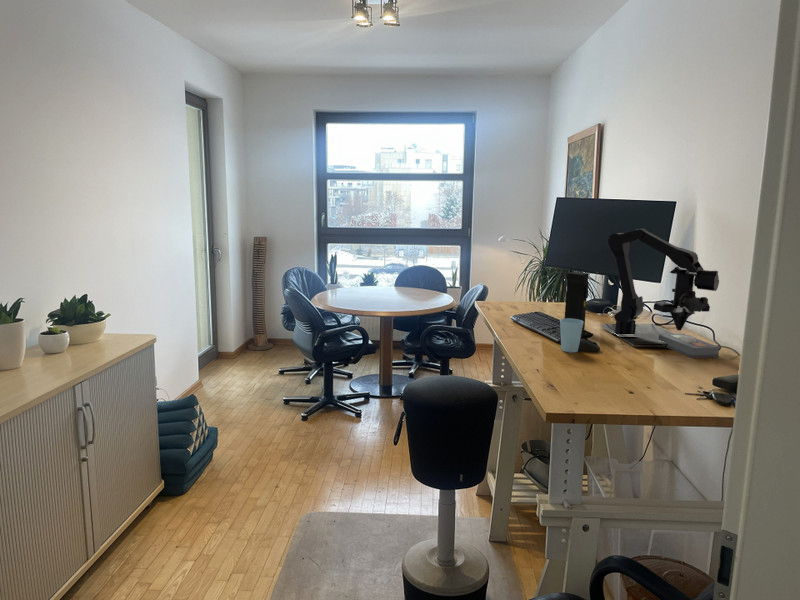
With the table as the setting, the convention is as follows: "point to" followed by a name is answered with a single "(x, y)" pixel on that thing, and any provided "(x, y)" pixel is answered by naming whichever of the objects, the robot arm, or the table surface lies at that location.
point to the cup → (570, 334)
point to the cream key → (688, 338)
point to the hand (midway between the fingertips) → (678, 330)
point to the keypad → (690, 347)
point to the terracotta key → (699, 344)
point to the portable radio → (576, 296)
